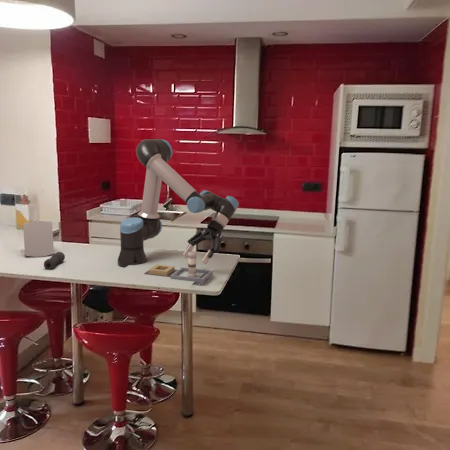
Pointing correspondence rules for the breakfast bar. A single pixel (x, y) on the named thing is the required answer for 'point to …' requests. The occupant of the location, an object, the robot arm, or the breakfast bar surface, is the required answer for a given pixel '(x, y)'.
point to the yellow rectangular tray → (161, 270)
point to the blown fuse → (191, 264)
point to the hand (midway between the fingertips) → (194, 259)
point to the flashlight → (54, 260)
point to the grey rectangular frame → (201, 280)
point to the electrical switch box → (38, 238)
